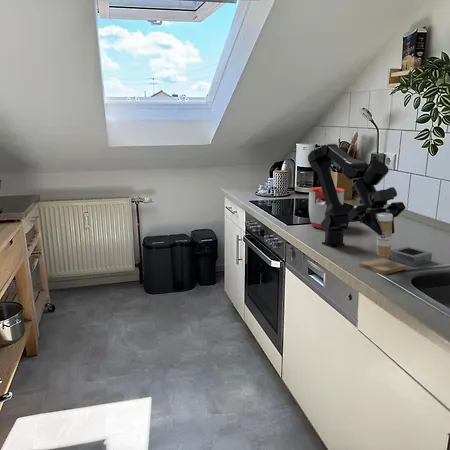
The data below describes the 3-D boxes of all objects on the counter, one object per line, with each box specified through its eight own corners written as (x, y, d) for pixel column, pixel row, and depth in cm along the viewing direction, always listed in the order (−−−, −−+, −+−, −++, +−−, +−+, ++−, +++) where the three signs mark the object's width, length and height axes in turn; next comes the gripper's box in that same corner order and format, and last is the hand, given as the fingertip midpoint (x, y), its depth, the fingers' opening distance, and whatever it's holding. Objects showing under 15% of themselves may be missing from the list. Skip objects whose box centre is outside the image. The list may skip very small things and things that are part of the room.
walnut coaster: (359, 266, 140) (359, 262, 140) (380, 260, 145) (380, 257, 145) (384, 274, 132) (384, 271, 132) (405, 269, 137) (405, 265, 137)
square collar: (389, 258, 147) (390, 250, 146) (407, 254, 152) (407, 246, 151) (413, 266, 139) (414, 257, 138) (431, 261, 144) (432, 252, 143)
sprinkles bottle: (376, 256, 137) (377, 215, 133) (376, 251, 141) (377, 212, 137) (392, 256, 135) (393, 215, 132) (391, 252, 139) (392, 212, 136)
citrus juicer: (301, 229, 189) (302, 184, 184) (313, 221, 204) (314, 179, 199) (337, 233, 182) (339, 186, 177) (346, 224, 197) (348, 181, 192)
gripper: (355, 180, 133) (375, 223, 125) (404, 177, 138) (426, 217, 131) (339, 200, 142) (357, 241, 134) (386, 197, 148) (405, 236, 140)
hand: (387, 233), depth 135 cm, fingers closed on sprinkles bottle, 4 cm apart
